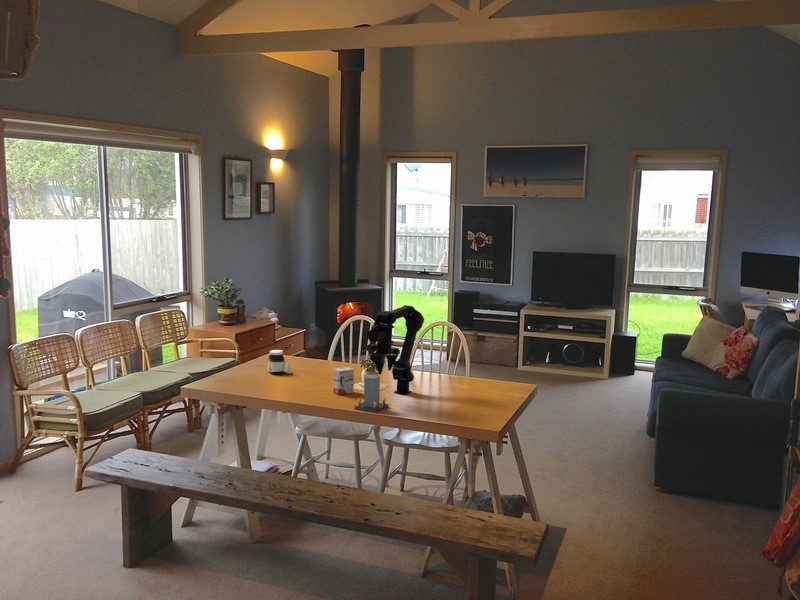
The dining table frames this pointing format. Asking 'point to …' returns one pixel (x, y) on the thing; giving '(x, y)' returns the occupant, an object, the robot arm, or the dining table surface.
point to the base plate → (371, 409)
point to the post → (371, 390)
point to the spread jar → (277, 362)
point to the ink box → (343, 380)
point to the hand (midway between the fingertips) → (384, 372)
